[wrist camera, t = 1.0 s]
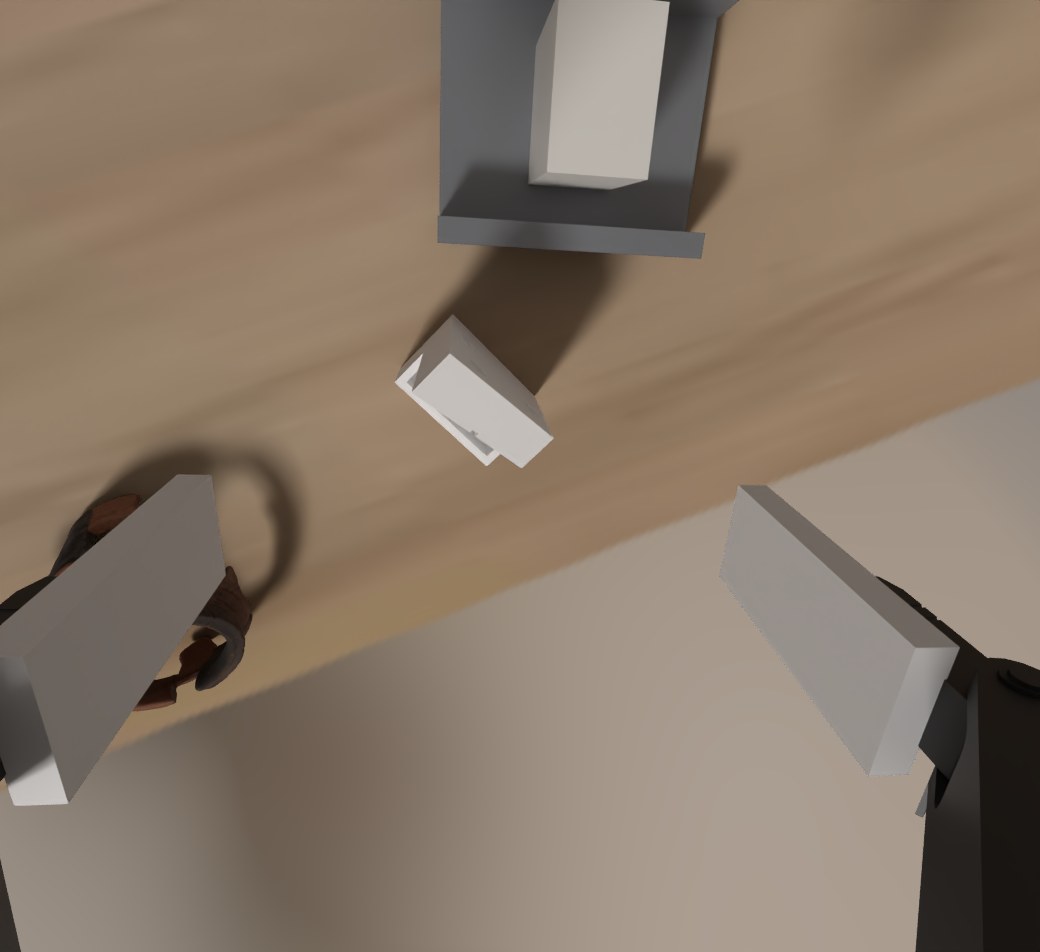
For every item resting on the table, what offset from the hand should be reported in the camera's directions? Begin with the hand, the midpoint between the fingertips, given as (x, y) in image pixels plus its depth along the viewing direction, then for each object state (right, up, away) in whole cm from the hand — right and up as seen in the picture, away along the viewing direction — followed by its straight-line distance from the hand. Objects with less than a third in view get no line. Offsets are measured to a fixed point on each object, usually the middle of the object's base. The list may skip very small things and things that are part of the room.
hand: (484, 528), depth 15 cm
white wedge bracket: (-2, +6, +15) cm, 16 cm away
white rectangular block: (+3, +16, +10) cm, 19 cm away
